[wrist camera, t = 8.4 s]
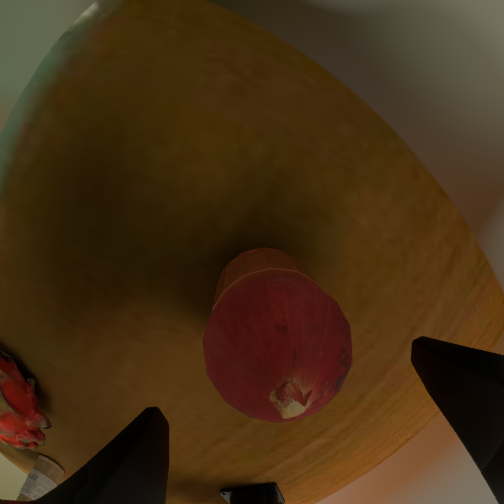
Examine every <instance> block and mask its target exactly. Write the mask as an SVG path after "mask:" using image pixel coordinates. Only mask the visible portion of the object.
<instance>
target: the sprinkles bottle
mask: <svg viewBox="0 0 504 504" xmlns="http://www.w3.org/2000/svg"><path fill="white" fill-rule="evenodd" d="M63 475H64V471H63V469H62V468H61V467H60V466H59V465H58V464H57V463H56V462H54V461H53V460H51V459H49V458H48V457H46V456H42V455H40V456H39V457H38V460H37V462H36V464H35V466H34V467H33V469H32V470H31V471H30V473H29V475H28V477H27V479H26V481H25V483H24V485H23V487H22V489H21V491H20V494H19V496H18V498H17V500H16V501H32V500H36V499H38V498H40V497H42V496H43V495H45V494H46V493H48V492H49V491H51V490H52V489H54V488H55V487H57V486H58V485H59V482H60V480H61V478H62V476H63Z"/></svg>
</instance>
